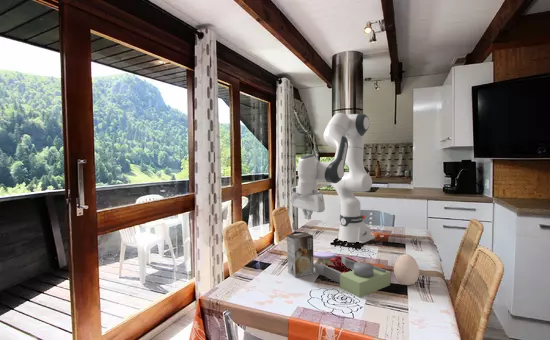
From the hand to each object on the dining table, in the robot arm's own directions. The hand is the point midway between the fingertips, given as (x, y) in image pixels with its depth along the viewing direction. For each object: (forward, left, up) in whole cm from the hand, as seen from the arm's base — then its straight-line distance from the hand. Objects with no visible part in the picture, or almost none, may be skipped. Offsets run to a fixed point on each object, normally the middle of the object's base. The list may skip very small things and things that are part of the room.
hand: (307, 218), depth 136 cm
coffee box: (+13, +11, -19) cm, 26 cm away
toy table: (0, +11, -19) cm, 22 cm away
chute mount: (0, +22, -19) cm, 29 cm away
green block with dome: (+1, +35, -19) cm, 39 cm away
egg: (-13, +42, -19) cm, 48 cm away
